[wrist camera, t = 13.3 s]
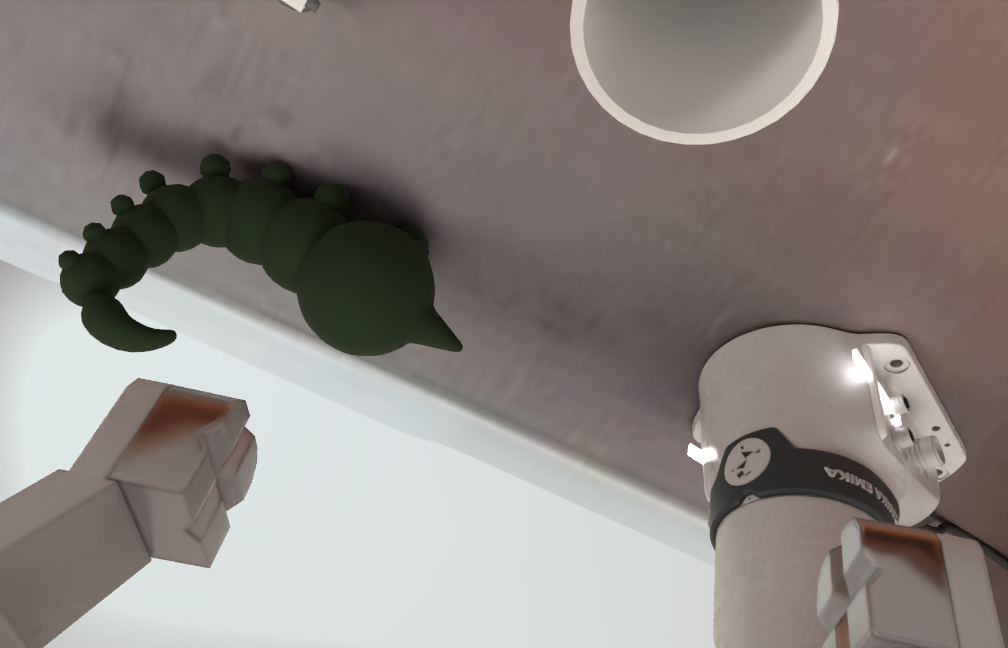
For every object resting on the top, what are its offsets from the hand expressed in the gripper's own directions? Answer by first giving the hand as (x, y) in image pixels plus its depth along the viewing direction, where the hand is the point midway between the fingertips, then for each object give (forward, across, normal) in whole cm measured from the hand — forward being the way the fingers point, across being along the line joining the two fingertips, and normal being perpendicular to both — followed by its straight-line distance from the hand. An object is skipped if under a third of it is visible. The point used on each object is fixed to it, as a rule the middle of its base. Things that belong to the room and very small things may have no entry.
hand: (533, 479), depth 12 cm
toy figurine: (+43, +21, +31) cm, 57 cm away
